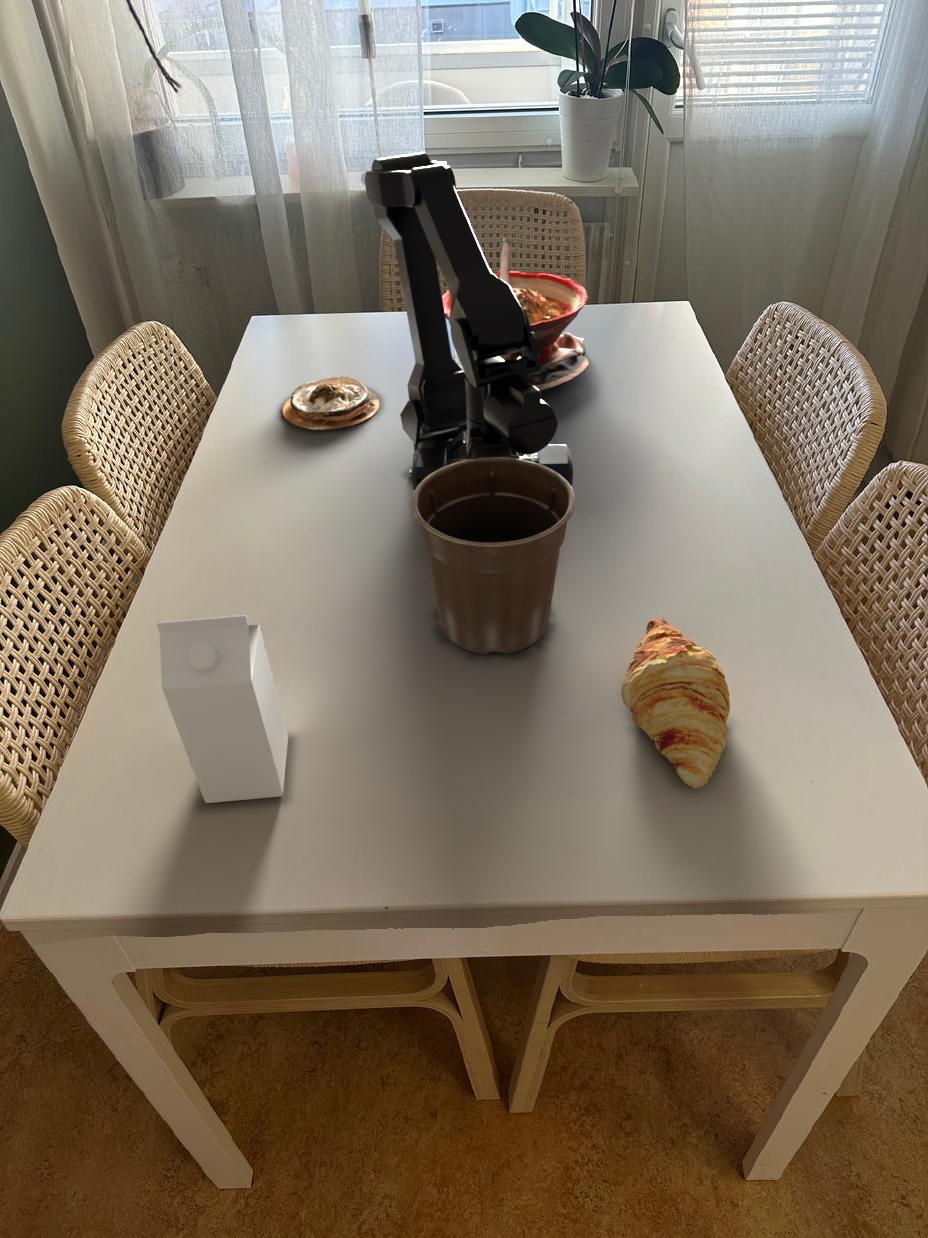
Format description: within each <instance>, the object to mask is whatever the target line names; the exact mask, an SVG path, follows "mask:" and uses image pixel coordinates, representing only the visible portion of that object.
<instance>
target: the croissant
mask: <svg viewBox="0 0 928 1238" xmlns="http://www.w3.org/2000/svg"><path fill="white" fill-rule="evenodd" d="M633 652H634V654H635V655H634V656H633V658H632V660H631V661H630V663H629V666H628V667H627V671H626V680H625V681H624V683H623V684H622V687H621V690H620V694H621V697H622V702H623V703H622V704H623V705H625V707H627V709H628V710H629V712H630V713H631V714H632V720H633V721H634V722H635V724H636V726H637V727H638V728H639V729H641V730H643V732H645V734H646V735H647V736H649V738H650V740H654V744H655V745H654V746H655V748H656V749H657V751H658V752H659V754H660V755H661V756H664V757H665V758H666V759H667V760H668V761H669V763H672V764H673V765H674V766H673V768H674V769H675V772H676V775H677V776H678V777H679V778H680V779H681V781H682V782H683V783H684V784H685V785H687V786H689V787H690V788H693V789H701V788H703V787H704V786H705V785H706V784H708V782H709V779H711V777H712V776H713V773H714V772H715V771H716V766H717V765H718V763H719V760H720V759H721V755H722V752H723V751H724V749H725V747H726V744H727V739H728V724H727V721H728V718H729V715H730V710H731V703H730V692H729V686H728V683H727V681H726V676H725V674H724V673H723V670H722V667H721V666H720V664H719V663H718V661H717V659H716V658H715V657H714V655H713V654H712V653H711V652H710V651H709V650H708V649H706V648H705V647H703V646H698V645H697V644H696V642H694V641H693V640H692V639H690V638H688V637H685V636H684V634H683V633H682V632H681V631H680V630H679V629H677V628H676V627H674V626H672V625H670V624H669V623H668V622H667V621H666V619H665V618H664V617H660V618H652V619H651V620H650V621H649V622H648V623H647V625H646V631H645V635H644V636H643V637H642V638H641V639H640V642H638V644H637V646H636V647H635V650H634V651H633Z"/></svg>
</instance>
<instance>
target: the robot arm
mask: <svg viewBox="0 0 928 1238" xmlns="http://www.w3.org/2000/svg"><path fill="white" fill-rule="evenodd" d="M364 186H365V192H366V196H367V199H368V200H369V203H370V204H371V205H372V207H373V211H374V216H375V219H376V221H377V222H378V223H379V225H380V226H381V228H383V230H384V231H385V232H386V234H387V235H389V237H390V238H391V239H392V241H393V245H394V250H395V255H396V261H397V266H398V273H399V277H400V283H401V288H402V294H403V299H404V306H405V312H406V316H407V321H408V327H409V333H410V339H411V344H412V349H413V355H414V361H415V362H414V366H413V368H412V372H411V374H410V376H409V378H408V379H409V380H408V382H407V393H408V400H407V402H406V404H405V406H403V409H402V410H401V412H400V414H399V416H400V422H401V426H402V430H403V431H404V433H405V434H406V435H407V436H408V438H409V439H410V440H411V441H412V443H413V454H412V455H413V456H412V464H411V465H412V467H411V468H410V469H409V470H408V473H409V475H410V476H411V482H412V483H411V484H412V490H413V491H415V490H416V488H417V486H418V485H419V484H420V483H421V482H422V481H423V480H424V479H425V478H426V477H427V476H429V475H430V474H432V473H433V472H435V471H437V470H439V469H441V468H443V467H445V466H448V465H451V464H453V463H457V462H461V461H465V460H469V459H476V458H484V457H505V458H515V459H521V460H526V461H530V462H534V463H537V464H540V465H543V466H546V467H548V468H550V469H552V470H554V471H555V472H557V473H558V474H560V475H561V476H562V477H563V478H564V479H565V480H566V481H567V482H568V483H569V484H570V486H571V487H572V486H573V484H574V483H573V482H574V465H573V458H572V457H573V456H572V453H571V449H570V447H569V446H568V445H567V444H565V443H563V444H561V443H560V444H550V443H551V442H552V440H553V438H554V437H555V434H556V432H557V430H558V418H557V414H556V412H555V410H554V409H553V408H552V407H551V406H550V405H549V404H548V403H547V402H545V400H543V399H542V393H541V390H538V389H537V388H536V387H535V386H532V385H530V384H529V382H528V380H529V375H531V374H535V373H540V372H541V365H540V361H539V358H538V357H539V356H540V354H541V352H540V350H539V347H538V344H537V341H536V338H535V336H534V333H533V330H532V327H531V325H530V322H529V319H528V317H527V314H526V312H525V310H524V309H523V307H521V305H520V303H519V301H518V300H517V298H516V296H515V294H514V292H513V291H512V289H511V287H510V286H509V285H508V284H507V283H505V282H504V281H502V280H501V279H499V278H498V277H496V276H495V275H493V274H494V273H493V272H492V270H491V268H490V267H489V265H488V262H487V261H486V258H485V256H484V253H483V251H482V248H481V246H480V244H479V242H478V239H477V237H476V234H475V233H474V230H473V228H472V226H471V223H470V220H469V218H468V216H467V214H466V211H465V209H464V207H463V205H462V202H461V200H460V198H459V195H458V193H457V183H456V177H455V174H454V171H453V169H452V167H451V166H450V165H447V161H437V160H432V161H431V159H430V157H429V155H428V154H427V153H426V152H425V151H424V152H423V151H421V152H414V153H408V154H401V155H394V156H387V157H380V158H375V159H374V160H373V161H372V163H371V170H367V171H365V174H364ZM439 271H440V273H441V275H442V278H443V280H444V283H445V285H446V288H447V291H448V290H449V293H450V296H451V299H452V306H451V311H450V316H449V321H448V324H449V327H450V336H449V331H448V324H447V319H446V317H445V311H444V305H443V298H442V296H443V294H442V293H443V292H442V285H441V282H440V274H439ZM450 337H451V341H452V346H453V348H454V351H455V350H456V353H457V357H458V360H459V363H460V365H461V366H462V367H463V369H464V371H463V370H462V369H461V368H460V366H459V365H458V364H457V363H456V362H455V360H454V357H453V354H452V348H451V343H450ZM520 350H521V352H522V354H523V357H518V358H514V359H510V360H503V359H502V358H501V357H499V356H503V355H507V354H512V353H516V352H519V351H520ZM465 432H466V441H465V438H464V437H465V435H464V433H465ZM521 455H523V456H521Z"/></svg>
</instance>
